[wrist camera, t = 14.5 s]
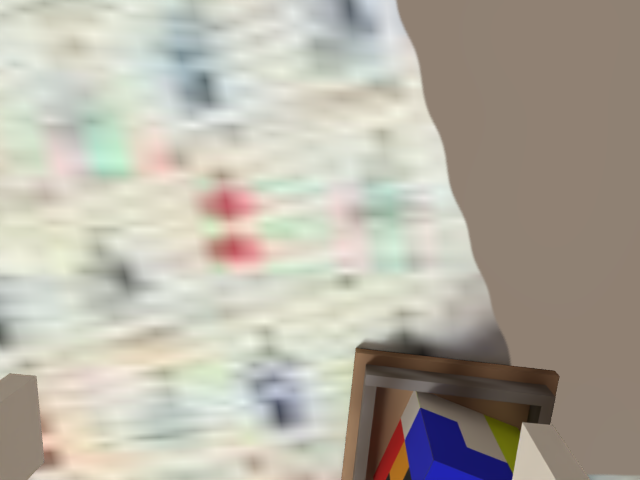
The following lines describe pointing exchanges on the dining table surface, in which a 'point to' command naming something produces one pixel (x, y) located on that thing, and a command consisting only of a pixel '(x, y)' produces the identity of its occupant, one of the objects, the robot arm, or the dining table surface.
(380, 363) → the pocket board
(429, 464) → the puzzle toy
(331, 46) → the dining table surface
